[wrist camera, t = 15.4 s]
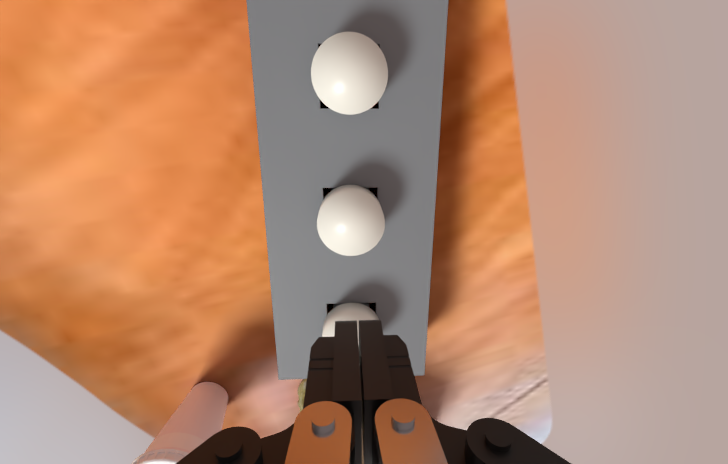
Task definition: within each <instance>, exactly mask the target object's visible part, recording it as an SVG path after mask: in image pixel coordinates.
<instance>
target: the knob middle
mask: <svg viewBox="0 0 728 464" xmlns="http://www.w3.org/2000/svg"><path fill="white" fill-rule="evenodd" d="M384 229H385V219H384V214H383V211H382V208H381V205H380V203H379V201H378V199H377V198H376V196H375V195H374V194H373V193H372V192H371V191H369V188H364V187H361V186H358V185H343V186H340V187H337V188H331V192H329V193H328V194H327V195H326V197H325V198H324V199H323V201H322V203H321V206H320V209H319V213H318V218H317V230H318V234H319V236H320V238H321V240H322V241H323V243H324V244H325V245H326V246H327V247H328V248H329V249H330V250H332V251H334V252H336V253H338V254H341V255H345V256H356V255H361V254H364V253H366V252H368V251H370V250H371V249H372V248H374V247H375V246H376V245H377V244H378V242H379V241H380V239H381V238H382V235H383V233H384Z"/></svg>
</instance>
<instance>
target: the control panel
mask: <svg viewBox="0 0 728 464" xmlns="http://www.w3.org/2000/svg"><path fill="white" fill-rule="evenodd" d="M247 11H248V23H249V35H250V47H251V59H252V70H253V82H254V94H255V106H256V118H257V129H258V141H259V153H260V165H261V177H262V189H263V200H264V212H265V224H266V236H267V248H268V259H269V271H270V283H271V295H272V307H273V318H274V330H275V342H276V354H277V366H278V378H279V380H284V379H307V374H308V366H309V360H310V351H311V347H312V345H313V344H314V343H315V341H316V340H317V339H318V338H319V337H322V332H323V324H324V320H325V318H326V316H327V304H340V303H376V305H375V313H376V315H377V317H378V319H379V320H381V324H382V330H383V335H398V336H399V337H400V338H401V339H402V340H403V341H404V343H405V344H406V345H407V349H408V353H409V358H410V361H411V366H412V369H413V373H414V376H420V375H424V373H425V357H426V342H427V326H428V311H429V295H430V279H431V264H432V248H433V233H434V217H435V201H436V186H437V170H438V155H439V139H440V123H441V108H442V92H443V77H444V61H445V46H446V30H447V14H448V0H247ZM341 32H357V33H360V34H363V35H365V36H367V37H369V38H370V39H372V40H373V41H374V42H375V43H376V44H377V45H379V48H380V49H381V51H382V52H383V54H384V56H385V59H386V62H387V67H388V80H387V85H386V88H385V91H384V93H383V95H382V97H381V98H380V100H379V101H378V108H370V109H369V110H367V111H365V112H362V113H359V114H353V115H347V114H341V113H338V112H335V111H333V110H331V109H330V108H321V104H320V99H319V97H318V96H317V94H316V92H315V90H314V87H313V84H312V79H311V66H312V61H313V58H314V55H315V53H316V51H317V50H318V48H319V45H321V44H322V43H323V42H324V41H325V40H326V39H328V38H329V37H331V36H333V35H335V34H337V33H341ZM343 185H358V186H361V187H364V188H376V187H377V199H378V201H379V203H380V205H381V208H382V211H383V214H384V219H385V229H384V233H383V235H382V238H381V239H380V241H379V242H378V244H377V245H376V246H375V247H374V248H372V249H371V250H370V251H368V252H366V253H364V254H361V255H356V256H345V255H341V254H338V253H336V252H334V251H332V250H330V249H329V248H328V247H327V246H326V245H325V244H324V243H323V241H322V240H321V238H320V236H319V234H318V230H317V218H318V213H319V209H320V206H321V203H322V201H323V199H324V196H323V188H337V187H340V186H343Z"/></svg>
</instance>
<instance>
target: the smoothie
mask: <svg viewBox="0 0 728 464" xmlns="http://www.w3.org/2000/svg"><path fill="white" fill-rule="evenodd" d="M227 403H228V394H227V392H226V390H225V389H224V388H223V387H222V386H220V385H219V384H216V383H213V382H202V383H199V384H197V385H195V386H194V387H193V388H192V389H191V391H190V392H189V393H188V395H187V396H186V398H185V399H184V400H183V402H182V403H181V404H180V406H179V407H178V408H177V410H176V411H175V412H174V414H173V415H172V416H171V418H170V419H169V420H168V422H167V423H166V424H165V426H164V427H163V428H162V430H161V431H160V433H159V434H158V435H157V437H156V438H155V439H154V441H153V442H152V443H151V444H150V446H149V447H148V449H147V450H146V452H145V453H144V454H142V455H140V456H139V457H138V458H137V459H135V460H134V461H133V463H132V464H176V463H177V462H179V461H180V460H181V459H182V458H184V457H185V456H186V455H188V454H189V453H190V452H192V451H193V450H194V449H195V448H197V447H198V446H199V445H201V444H202V443H203V442H205V441H206V440H207V439H208V438H210V437H211V436H213V435H214V434H216V433H217V432H219V431H221V430H222V426H223V421H224V417H225V412H226V408H227Z"/></svg>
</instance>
